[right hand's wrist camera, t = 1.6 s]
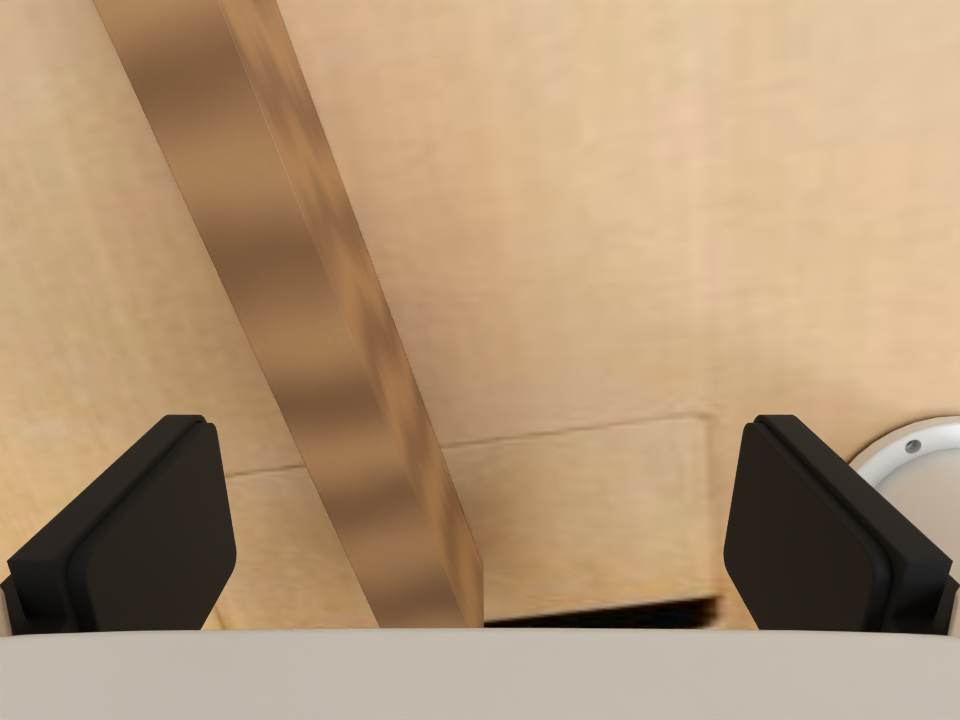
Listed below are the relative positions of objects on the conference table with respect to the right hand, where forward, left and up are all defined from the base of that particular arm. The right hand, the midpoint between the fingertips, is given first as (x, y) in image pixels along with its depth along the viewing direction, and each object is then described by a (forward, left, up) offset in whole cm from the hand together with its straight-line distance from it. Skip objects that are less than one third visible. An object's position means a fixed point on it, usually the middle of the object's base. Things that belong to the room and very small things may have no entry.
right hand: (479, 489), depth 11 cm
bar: (+16, +4, -23) cm, 28 cm away
